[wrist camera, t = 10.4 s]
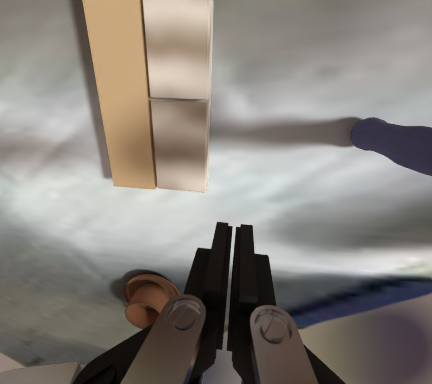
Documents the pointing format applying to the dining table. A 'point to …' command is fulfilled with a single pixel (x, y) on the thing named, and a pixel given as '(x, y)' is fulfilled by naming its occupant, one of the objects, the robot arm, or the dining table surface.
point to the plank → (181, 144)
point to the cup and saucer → (147, 298)
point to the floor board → (127, 89)
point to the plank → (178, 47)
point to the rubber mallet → (396, 143)
